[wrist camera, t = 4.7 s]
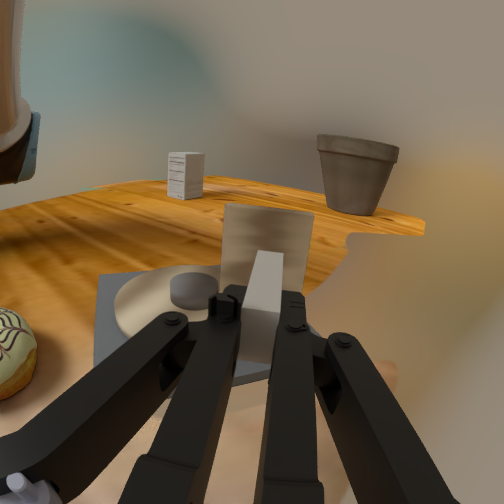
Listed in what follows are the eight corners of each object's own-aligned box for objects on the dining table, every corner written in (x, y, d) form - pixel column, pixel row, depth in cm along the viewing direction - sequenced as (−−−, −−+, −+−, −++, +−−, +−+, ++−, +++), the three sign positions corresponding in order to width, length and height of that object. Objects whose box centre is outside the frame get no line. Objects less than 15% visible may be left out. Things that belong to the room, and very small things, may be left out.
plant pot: (298, 207, 82) (307, 129, 74) (320, 197, 103) (327, 136, 95) (386, 227, 72) (400, 144, 64) (389, 212, 93) (399, 149, 85)
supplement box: (185, 193, 87) (187, 151, 83) (202, 197, 83) (205, 153, 79) (166, 196, 81) (168, 152, 77) (183, 200, 77) (185, 153, 73)
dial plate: (100, 282, 32) (99, 272, 32) (247, 269, 40) (247, 260, 39) (97, 406, 16) (92, 393, 16) (332, 359, 24) (336, 347, 23)
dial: (85, 335, 21) (65, 216, 18) (153, 265, 35) (152, 183, 32) (296, 377, 20) (324, 244, 16) (294, 285, 34) (307, 197, 30)
